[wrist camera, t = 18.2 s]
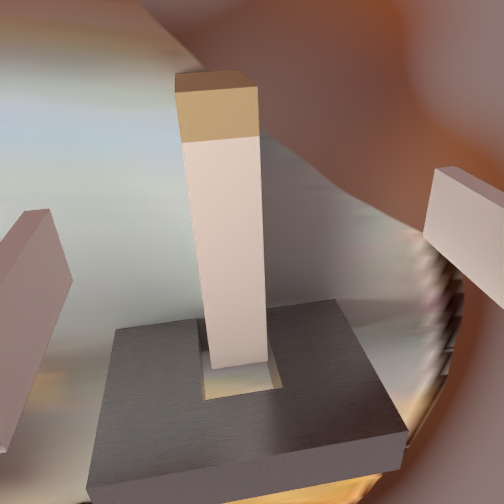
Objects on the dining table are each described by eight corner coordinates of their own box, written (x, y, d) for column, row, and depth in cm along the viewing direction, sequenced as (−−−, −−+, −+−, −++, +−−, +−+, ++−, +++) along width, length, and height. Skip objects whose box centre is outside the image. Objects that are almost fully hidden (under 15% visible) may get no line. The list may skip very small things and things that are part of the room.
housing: (332, 333, 49) (399, 469, 34) (125, 363, 46) (102, 526, 31) (335, 299, 46) (408, 430, 31) (115, 329, 43) (85, 489, 29)
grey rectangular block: (251, 300, 44) (267, 361, 37) (205, 307, 44) (211, 369, 36) (238, 69, 33) (257, 86, 25) (174, 74, 32) (174, 92, 24)
